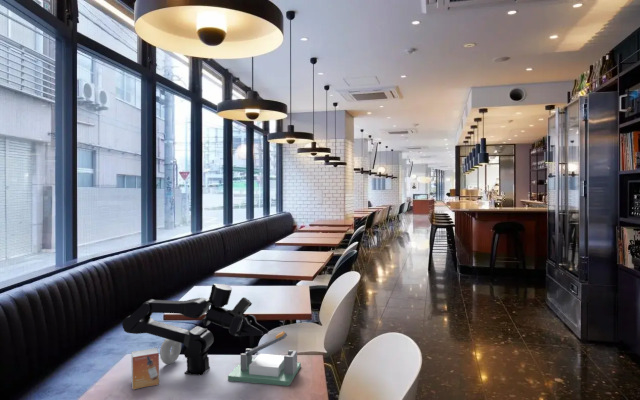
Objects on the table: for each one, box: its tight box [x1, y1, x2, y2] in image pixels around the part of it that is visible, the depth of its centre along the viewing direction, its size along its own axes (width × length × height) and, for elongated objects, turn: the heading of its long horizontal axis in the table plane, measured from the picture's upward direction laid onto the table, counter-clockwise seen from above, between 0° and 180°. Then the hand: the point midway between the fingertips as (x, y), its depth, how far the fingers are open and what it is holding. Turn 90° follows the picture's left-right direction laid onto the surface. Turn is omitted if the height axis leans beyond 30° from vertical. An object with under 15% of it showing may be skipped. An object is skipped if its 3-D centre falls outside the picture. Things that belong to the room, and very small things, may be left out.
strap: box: [244, 330, 288, 356], centre depth 141 cm, size 17×3×2 cm, turn 78°
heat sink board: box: [227, 348, 302, 387], centre depth 141 cm, size 21×15×8 cm
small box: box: [131, 347, 160, 390], centre depth 134 cm, size 8×6×10 cm
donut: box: [159, 338, 182, 365], centre depth 150 cm, size 10×4×10 cm, turn 164°
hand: (265, 332), depth 138 cm, fingers open, 9 cm apart
